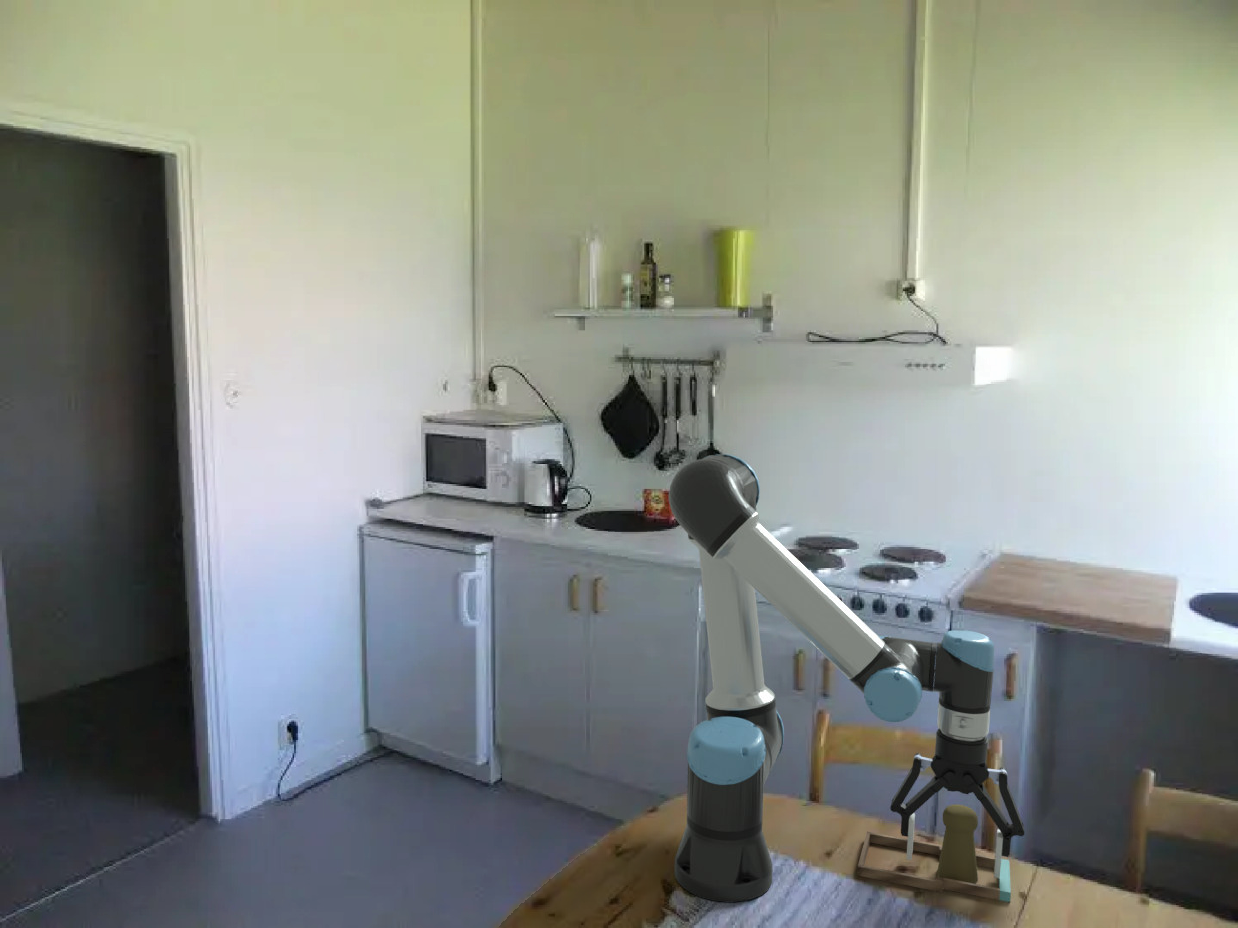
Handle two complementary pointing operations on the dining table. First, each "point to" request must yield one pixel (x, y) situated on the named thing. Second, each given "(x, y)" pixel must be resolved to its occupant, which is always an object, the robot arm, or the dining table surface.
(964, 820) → the cork
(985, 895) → the keyhole track
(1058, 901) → the dining table surface
